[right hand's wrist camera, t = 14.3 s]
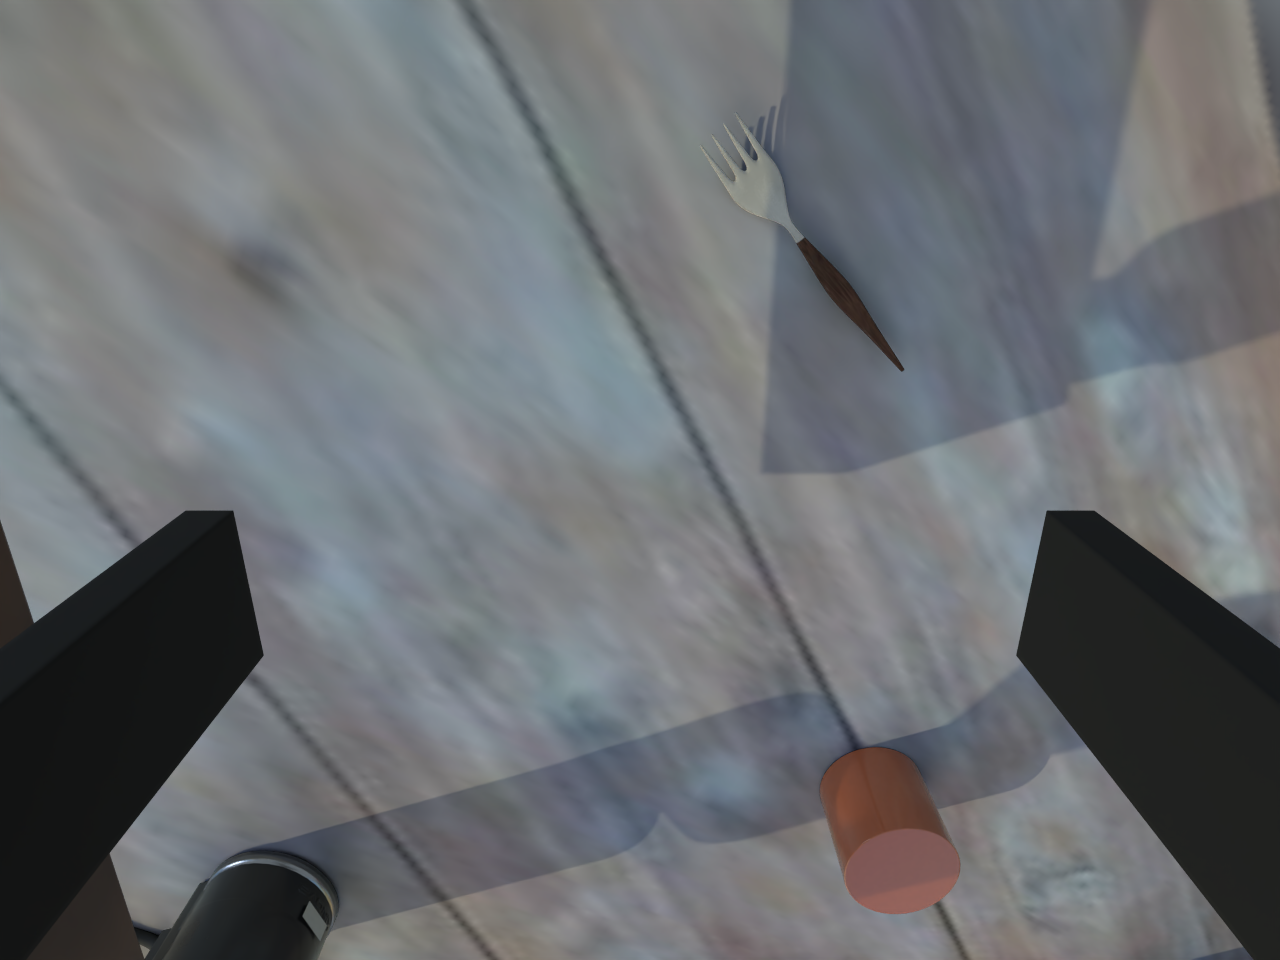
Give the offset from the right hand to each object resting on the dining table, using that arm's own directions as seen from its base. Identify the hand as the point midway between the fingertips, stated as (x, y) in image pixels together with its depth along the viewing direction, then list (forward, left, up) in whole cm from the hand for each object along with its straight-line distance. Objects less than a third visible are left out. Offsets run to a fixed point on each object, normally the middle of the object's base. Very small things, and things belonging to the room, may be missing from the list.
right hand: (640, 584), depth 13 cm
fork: (-7, +6, -31) cm, 32 cm away
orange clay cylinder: (+18, +32, -31) cm, 48 cm away
